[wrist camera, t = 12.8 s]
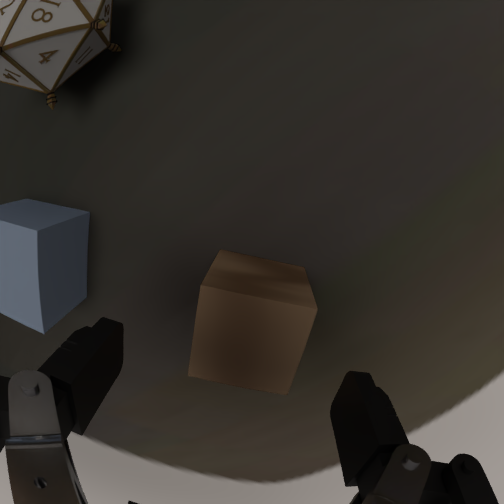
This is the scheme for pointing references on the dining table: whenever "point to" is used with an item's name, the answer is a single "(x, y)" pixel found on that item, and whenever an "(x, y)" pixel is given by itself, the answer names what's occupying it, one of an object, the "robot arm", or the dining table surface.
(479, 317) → the dining table surface
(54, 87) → the game die
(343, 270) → the dining table surface
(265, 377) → the walnut block
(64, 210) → the blue block
